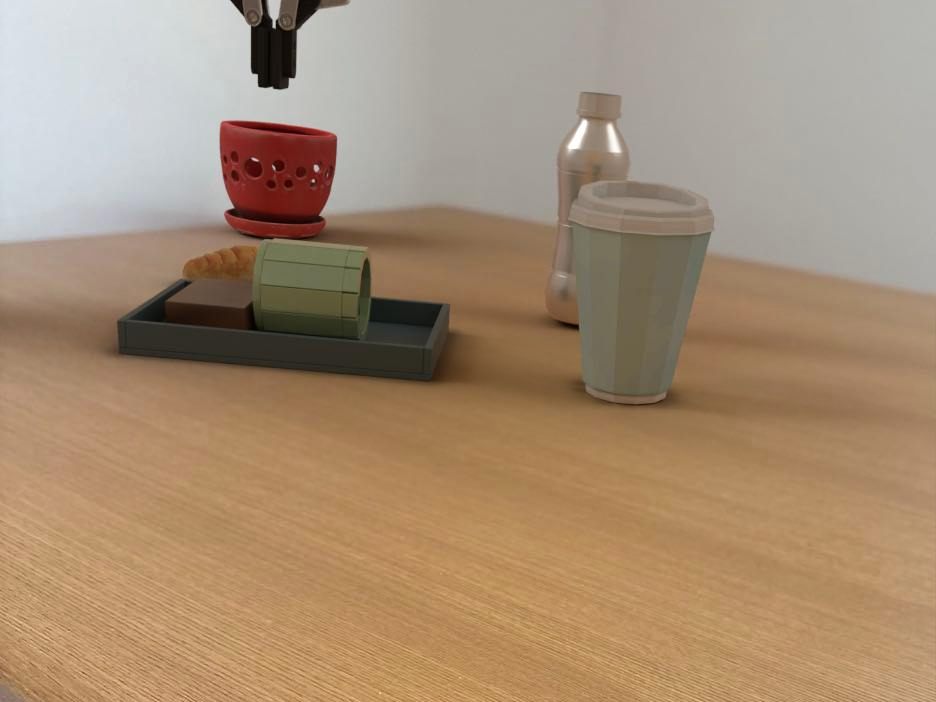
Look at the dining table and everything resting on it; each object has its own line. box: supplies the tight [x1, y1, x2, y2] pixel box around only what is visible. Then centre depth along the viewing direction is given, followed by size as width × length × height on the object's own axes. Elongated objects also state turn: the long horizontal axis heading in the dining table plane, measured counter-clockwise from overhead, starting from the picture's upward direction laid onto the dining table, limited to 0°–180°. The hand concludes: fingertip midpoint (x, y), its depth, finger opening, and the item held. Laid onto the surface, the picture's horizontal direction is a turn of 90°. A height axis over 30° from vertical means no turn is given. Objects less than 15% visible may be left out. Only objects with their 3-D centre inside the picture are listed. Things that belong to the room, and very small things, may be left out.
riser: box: [165, 278, 258, 331], centre depth 90 cm, size 6×9×3 cm, turn 179°
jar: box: [253, 238, 373, 341], centre depth 89 cm, size 7×7×8 cm
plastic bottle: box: [544, 91, 631, 327], centre depth 101 cm, size 6×7×20 cm
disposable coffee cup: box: [568, 180, 716, 405], centre depth 83 cm, size 11×11×15 cm
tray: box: [116, 278, 451, 382], centre depth 90 cm, size 23×15×2 cm, turn 89°
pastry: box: [181, 244, 259, 282], centre depth 106 cm, size 9×7×4 cm
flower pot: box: [218, 119, 338, 240], centre depth 131 cm, size 13×13×12 cm
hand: (273, 87), depth 83 cm, fingers closed
